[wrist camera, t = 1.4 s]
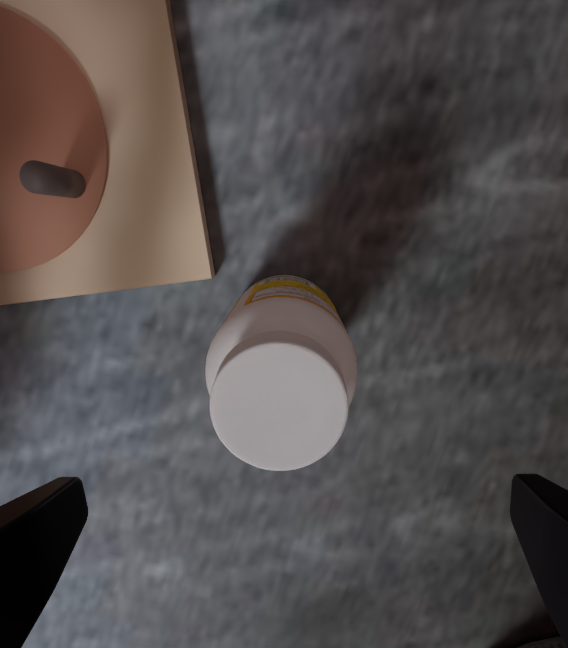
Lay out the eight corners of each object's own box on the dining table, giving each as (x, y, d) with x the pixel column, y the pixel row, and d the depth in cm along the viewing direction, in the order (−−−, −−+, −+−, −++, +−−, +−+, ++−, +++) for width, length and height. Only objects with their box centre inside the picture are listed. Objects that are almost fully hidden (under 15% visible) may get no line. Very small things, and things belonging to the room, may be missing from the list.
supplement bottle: (294, 251, 20) (298, 275, 11) (359, 336, 21) (413, 424, 12) (208, 318, 21) (146, 392, 12) (274, 397, 22) (264, 523, 13)
